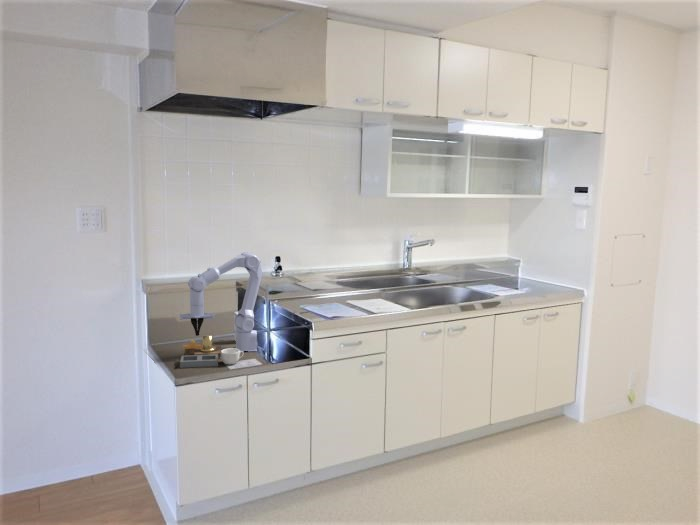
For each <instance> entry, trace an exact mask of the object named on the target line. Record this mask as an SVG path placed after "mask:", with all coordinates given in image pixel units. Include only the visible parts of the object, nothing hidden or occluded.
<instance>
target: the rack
mask: <svg viewBox="0 0 700 525" xmlns="http://www.w3.org/2000/svg"><path fill="white" fill-rule="evenodd" d="M186 367H187V368H206V367H207V368H208V367H219V359H218V354H211V355H186V356H185V355H181V357H180V361H179V368H180V369H181V368H183V369H184V368H186Z"/></svg>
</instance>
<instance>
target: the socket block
mask: <svg viewBox="0 0 700 525" xmlns="http://www.w3.org/2000/svg"><path fill="white" fill-rule="evenodd" d="M214 347H216V350H215V351H212V352H201V351H200V350H199V348H193V349H184V356H186V355H211V354H218V360H221V358H220V357H221V350H222V349H221V347H222V346H221V345H214Z"/></svg>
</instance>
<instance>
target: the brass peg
mask: <svg viewBox="0 0 700 525" xmlns="http://www.w3.org/2000/svg"><path fill="white" fill-rule="evenodd" d="M214 346H215V345H214ZM214 346H213V335H212V334H210V333H209V334H203V335H202V348H199V350H200V351H201V352H212V351H215V350H216V347H214Z"/></svg>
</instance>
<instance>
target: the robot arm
mask: <svg viewBox="0 0 700 525" xmlns="http://www.w3.org/2000/svg"><path fill="white" fill-rule="evenodd" d="M261 262H262V261H261V260H260V259H259V257H258V256H257V255H255V254H251V253H249V252H242V253H240V254H237V255H236V256H234V257H233V258H231V259H229V260H228V261H227V262H224V263H223V264H222V265H221V264H220V266H218V267H217V268H216V267H208V268H207V269H206V270H205V271H203V272H202V273H198V274H197V276H194V275H193V276H192V277H190V279H188V282H187V286H188V287H189V301H190V302H189V303H190V304H189V305H190V306H189V308H190V309H189V310H190V311H189V313H182V314H181V313H180V314H179V320H190V323H191V325H192V326H193V329H194V333H195V336H198V337H199V336H200V332H201V327H202V325H203V323H204V321H205V320H204V319H208V320H210V319H211V320H215V318H216V317H215V313H208V312H205V302H204V301H205V300H204V298H205V296H204V295H205V294H204V292H205V291H204V290H205V289H206V287H208V286H209V285H210V284H212V283H214V282H216V281H218V280H219V279H220V278H221V275H223V274H225V273H228V272H229V271H232V270H233V269H235V268H244V269H245V270H246V271H247V272H248V274H249V278H248V281H247V285H246V290H245V294H244V297H243V300H242V301H243V302H242V304H241V308H240V309H239V310H238V311H237V312H238V315H237V316H236V317H235V319H234V318H233V324H234V323H235V325H236V326H237V329H236V342H235V344H236V345H235V347H234V348H236V349H239V350H240V351H243V353H244V351H248V352H257V351H258V349H257V348H258V338H257V337H258V334H257V333H258V330H255V329H254V327H255V321H254V319H255V315H254V309H255V304H256V301H257V297H258V294H259V289H260V284H261V281H262V277H263V269H262V265H261Z"/></svg>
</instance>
